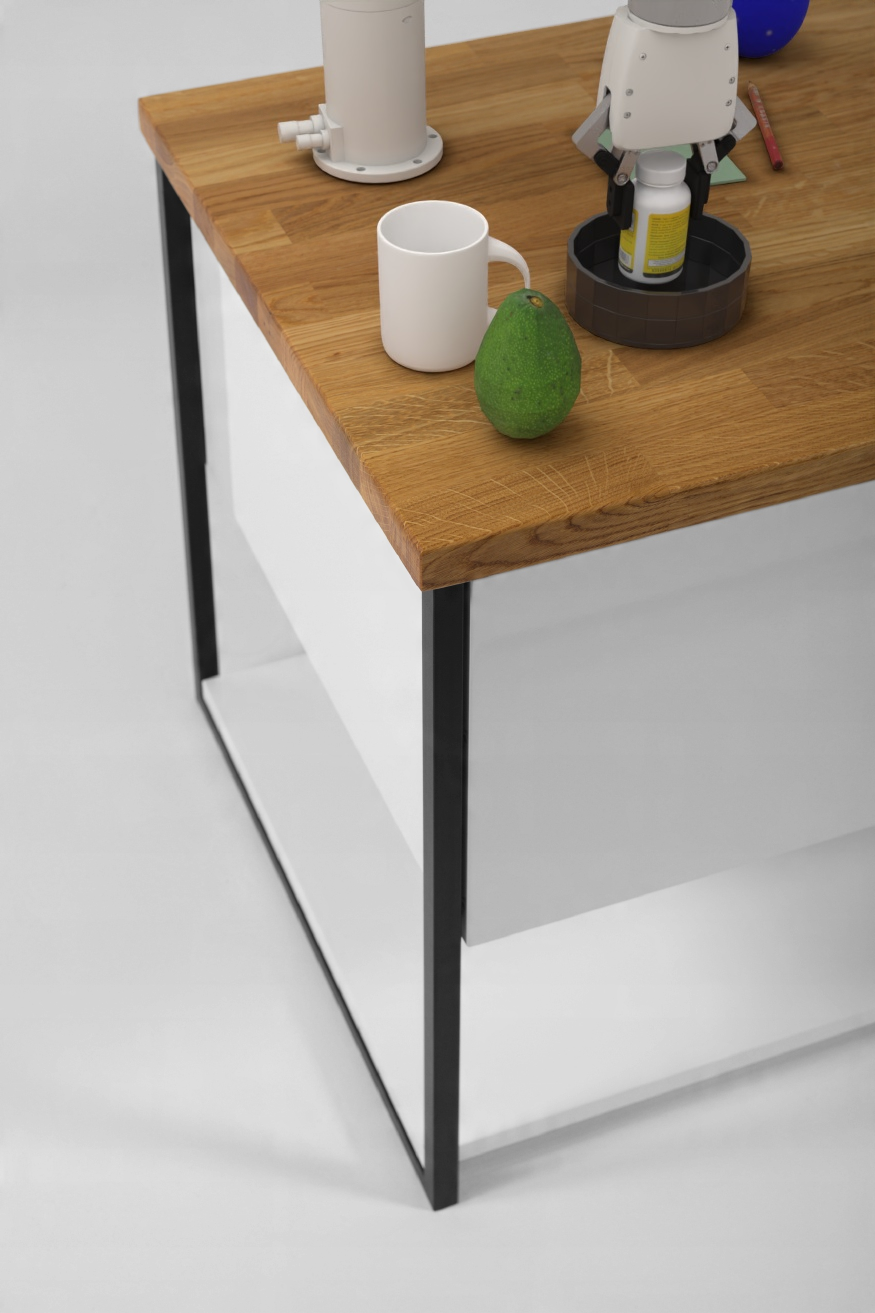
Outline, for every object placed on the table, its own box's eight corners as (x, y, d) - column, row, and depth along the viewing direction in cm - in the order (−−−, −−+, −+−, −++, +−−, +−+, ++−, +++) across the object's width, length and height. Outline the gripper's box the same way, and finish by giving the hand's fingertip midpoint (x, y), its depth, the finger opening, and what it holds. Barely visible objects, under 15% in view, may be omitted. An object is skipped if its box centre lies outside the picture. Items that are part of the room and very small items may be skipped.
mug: (533, 371, 130) (538, 250, 122) (383, 377, 129) (378, 256, 122) (523, 314, 136) (527, 196, 129) (379, 320, 136) (375, 201, 128)
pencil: (783, 170, 154) (784, 160, 154) (772, 170, 154) (773, 160, 154) (754, 85, 168) (755, 76, 167) (743, 85, 168) (744, 76, 167)
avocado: (483, 466, 121) (485, 324, 112) (465, 406, 126) (465, 268, 118) (589, 455, 121) (598, 314, 113) (566, 396, 127) (573, 258, 119)
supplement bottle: (693, 264, 137) (707, 155, 130) (664, 293, 133) (677, 183, 127) (636, 246, 139) (646, 138, 132) (605, 274, 135) (615, 165, 129)
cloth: (625, 197, 151) (626, 194, 151) (577, 133, 161) (577, 130, 161) (746, 180, 153) (746, 177, 153) (690, 118, 163) (691, 115, 163)
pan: (599, 361, 131) (603, 306, 127) (542, 270, 141) (544, 217, 138) (772, 333, 133) (780, 279, 130) (703, 246, 144) (709, 194, 141)
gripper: (766, -36, 124) (735, 182, 137) (553, -14, 121) (541, 208, 134) (807, 2, 119) (771, 226, 132) (585, 27, 116) (570, 254, 128)
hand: (655, 215), depth 133 cm, fingers closed on supplement bottle, 5 cm apart
